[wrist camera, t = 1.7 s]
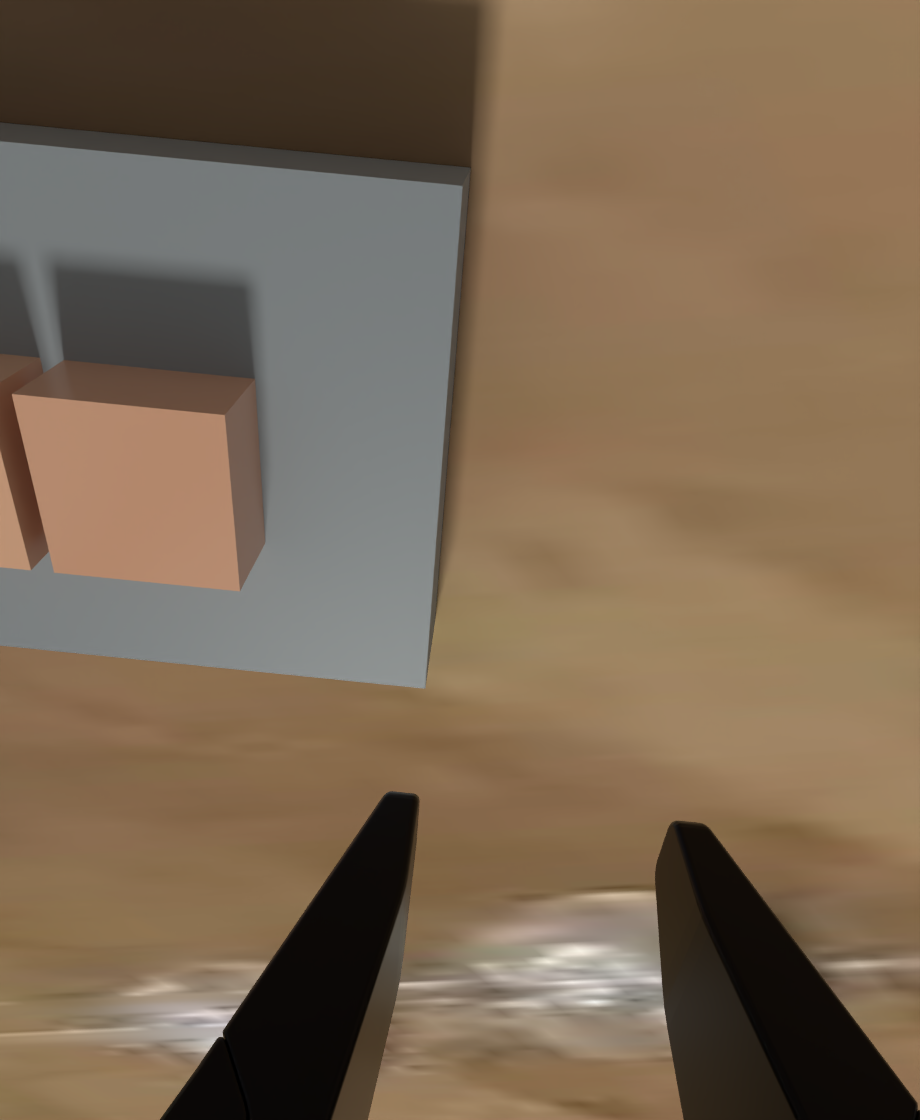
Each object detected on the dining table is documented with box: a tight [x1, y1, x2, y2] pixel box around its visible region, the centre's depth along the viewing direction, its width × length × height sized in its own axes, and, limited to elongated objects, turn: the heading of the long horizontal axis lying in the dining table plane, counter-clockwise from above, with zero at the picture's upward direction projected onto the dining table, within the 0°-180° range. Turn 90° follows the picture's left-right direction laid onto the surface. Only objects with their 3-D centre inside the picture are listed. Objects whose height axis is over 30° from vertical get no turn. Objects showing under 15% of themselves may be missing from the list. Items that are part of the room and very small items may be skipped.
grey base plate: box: [0, 122, 471, 688], centre depth 19 cm, size 12×14×3 cm
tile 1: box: [12, 360, 265, 591], centre depth 16 cm, size 4×4×2 cm
